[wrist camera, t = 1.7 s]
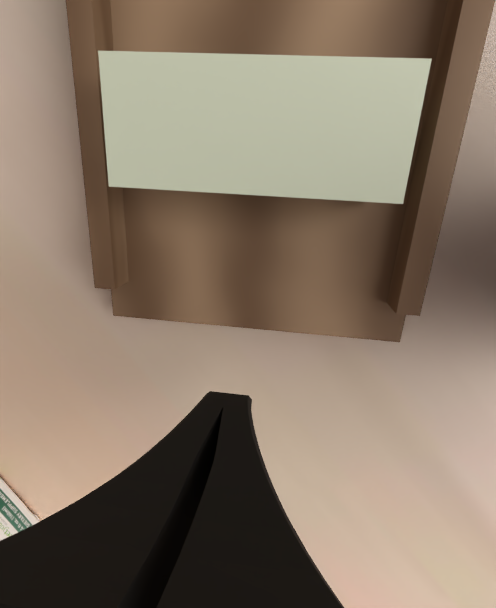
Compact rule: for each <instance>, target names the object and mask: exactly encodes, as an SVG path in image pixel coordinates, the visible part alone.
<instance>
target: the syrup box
mask: <svg viewBox="0 0 496 608" xmlns="http://www.w3.org/2000/svg"><path fill="white" fill-rule="evenodd" d="M39 521H40V519H39V518H38V516H37V515H35V514H33V513H32V512H31V511H30V510H29V509H28V508H27V507H26V506H25V504H24V503H23V502H22V501H21V500H20V499H19V498H18V496H17V495H16V494H15V493H14V492H13V491H12V490H11V489H10V487H9V486H8V485H7V484H6V483H5V482H4V481H3V479H2V478H1V477H0V541H1V540H3V539H5V538H7V537H9V536H12V535H14V534H16V533H18V532H20V531H22V530H24V529H26V528H28V527H30V526H32V525H34V524H36V523H38V522H39Z"/></svg>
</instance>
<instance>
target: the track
mask: <svg viewBox="0 0 496 608" xmlns="http://www.w3.org/2000/svg"><path fill="white" fill-rule="evenodd" d="M494 3H495V0H66V6H67V16H68V26H69V36H70V46H71V56H72V66H73V76H74V85H75V95H76V105H77V115H78V125H79V135H80V145H81V155H82V165H83V175H84V185H85V195H86V205H87V214H88V224H89V234H90V244H91V254H92V264H93V274H94V284H95V288H104V289H111V294H112V306H113V315H114V316H124V317H135V318H146V319H157V320H167V321H178V322H189V323H200V324H210V325H221V326H232V327H243V328H253V329H264V330H275V331H286V332H296V333H307V334H318V335H329V336H339V337H350V338H361V339H372V340H382V341H393V342H400V339H401V334H402V330H403V325H404V321H405V316H406V315H417V316H420V312H421V308H422V304H423V300H424V295H425V291H426V287H427V283H428V279H429V274H430V270H431V266H432V262H433V258H434V254H435V249H436V245H437V241H438V237H439V233H440V228H441V224H442V220H443V216H444V212H445V207H446V203H447V199H448V195H449V191H450V187H451V182H452V178H453V174H454V170H455V166H456V161H457V157H458V153H459V149H460V145H461V141H462V136H463V132H464V128H465V124H466V120H467V115H468V111H469V107H470V103H471V99H472V95H473V90H474V86H475V82H476V78H477V74H478V69H479V65H480V61H481V57H482V53H483V49H484V44H485V40H486V36H487V32H488V28H489V23H490V19H491V15H492V11H493V7H494ZM98 51H134V52H176V53H218V54H259V55H301V56H343V57H384V58H426V59H432V60H431V65H430V70H429V75H428V80H427V85H426V90H425V96H424V101H423V106H422V111H421V116H420V121H419V126H418V131H417V136H416V141H415V146H414V151H413V156H412V161H411V166H410V171H409V176H408V181H407V186H406V191H405V196H404V202H403V204H394V203H377V202H360V201H344V200H327V199H310V198H293V197H276V196H259V195H243V194H226V193H209V192H192V191H175V190H159V189H142V188H125V187H109V183H108V171H107V158H106V145H105V132H104V119H103V107H102V94H101V81H100V68H99V56H98Z"/></svg>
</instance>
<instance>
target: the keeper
mask: <svg viewBox="0 0 496 608" xmlns="http://www.w3.org/2000/svg"><path fill="white" fill-rule="evenodd" d="M98 56H99V68H100V81H101V94H102V107H103V119H104V132H105V145H106V158H107V171H108V183H109V187H125V188H142V189H159V190H175V191H192V192H209V193H226V194H243V195H259V196H276V197H293V198H310V199H327V200H344V201H360V202H377V203H394V204H403V202H404V196H405V191H406V186H407V181H408V176H409V171H410V166H411V161H412V156H413V151H414V146H415V141H416V136H417V131H418V126H419V121H420V116H421V111H422V106H423V101H424V96H425V90H426V85H427V80H428V75H429V70H430V65H431V60H432V59H426V58H384V57H343V56H301V55H259V54H218V53H176V52H134V51H98Z"/></svg>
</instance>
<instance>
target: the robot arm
mask: <svg viewBox="0 0 496 608" xmlns="http://www.w3.org/2000/svg"><path fill="white" fill-rule="evenodd" d="M251 403H252V399H251V398H250V397H249V396H247V395H238V394H229V393H220V392H211V391H210V392H209V393H207V394H206V395H205V396H204V397H203V399H202V400H201V401H200V402H199V403H198V404H197V405H196V406H195V407H194V409H193V410H192V411H191V412H190V413H189V414H188V415H187V416H186V417H185V418H184V419H183V420H182V421H181V422H180V423H179V424H178V425H177V426H176V427H175V428H174V429H173V430H172V431H171V432H170V433H169V434H168V435H166V436H165V437H164V438H163V439H162V440H161V441H160V442H158V443H157V444H156V445H155V446H154V447H153V448H152V449H150V450H149V451H148V452H147V453H146V454H144V455H143V456H142V457H141V458H140V459H138V460H137V461H136V462H134V463H133V464H132V465H130V466H129V467H128V468H126V469H125V470H124V471H122V472H121V473H120V474H118V475H117V476H115V477H114V478H112V479H111V480H109V481H108V482H106V483H105V484H103V485H102V486H100V487H99V488H97V489H96V490H94V491H92V492H91V493H89V494H88V495H86V496H85V497H83V498H81V499H80V500H78V501H76V502H75V503H73V504H71V505H69V506H67V507H66V508H64V509H62V510H60V511H59V512H57V513H55V514H53V515H51V516H49V517H47V518H46V519H44V520H42V521H40V522H38V523H36V524H34V525H32V526H30V527H28V528H26V529H24V530H22V531H20V532H18V533H16V534H14V535H12V536H9V537H7V538H5V539H3V540H1V541H0V608H344V607H343V605H342V604H341V603H340V601H339V600H338V598H337V597H336V595H335V594H334V592H333V591H332V590H331V588H330V587H329V585H328V584H327V582H326V581H325V579H324V578H323V576H322V575H321V573H320V571H319V570H318V568H317V567H316V565H315V564H314V562H313V560H312V559H311V557H310V556H309V554H308V552H307V551H306V549H305V547H304V545H303V544H302V542H301V540H300V538H299V536H298V535H297V533H296V531H295V529H294V528H293V526H292V524H291V522H290V520H289V519H288V517H287V515H286V513H285V511H284V509H283V507H282V504H281V502H280V500H279V498H278V496H277V494H276V492H275V489H274V487H273V485H272V482H271V480H270V477H269V475H268V472H267V470H266V467H265V464H264V461H263V458H262V455H261V452H260V449H259V446H258V442H257V438H256V434H255V430H254V426H253V420H252V413H251Z"/></svg>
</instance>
